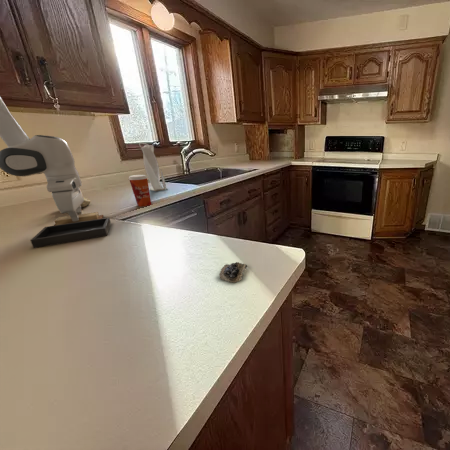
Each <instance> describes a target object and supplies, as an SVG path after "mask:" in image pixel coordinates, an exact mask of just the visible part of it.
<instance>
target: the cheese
mask: <svg viewBox="0 0 450 450" xmlns="http://www.w3.org/2000/svg"><path fill="white" fill-rule="evenodd" d="M83 198H84V202H83V203H82V204H81V208H85V207H87V206H89V205H90V204H91V200H90V199H89V198H87V197H83Z"/></svg>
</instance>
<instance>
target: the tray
mask: <svg viewBox="0 0 450 450" xmlns="http://www.w3.org/2000/svg"><path fill="white" fill-rule="evenodd" d="M54 225H55V224H54ZM54 225H49V226H44V227H43V228H42V229H41V230H40V231H39V232H38V233H37V234H36V235H34V236H33V237H32V238H31V239H30V243H31V246H32V247H33V249H38V248H42V247H43V248H44V247H49V246H54V245H61V244H67V243H72V242H78V241H83V240H88V239H95V238H100V237H105V236H108V234H109V231H110V228H111V226H112V222H111V218H110V217H103V218H102V219H96V220H89V221H82V222H75V223H68V224H62V225H55V226H54Z"/></svg>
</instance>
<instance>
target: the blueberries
mask: <svg viewBox="0 0 450 450" xmlns="http://www.w3.org/2000/svg"><path fill="white" fill-rule="evenodd" d="M247 268H248V265H247V264H245V263H242V262H239V261H236V262H232V263H230V264H228V263H226V264H224V266H222V268H221V269H220V271H219V274H218V275H219V279H220V280H222V281H225V282H228V283H232V284H234V283H238V282H240V281H242V279H243V276H244V274H243V273H245V271H246V270H247Z"/></svg>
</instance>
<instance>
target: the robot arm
mask: <svg viewBox="0 0 450 450" xmlns="http://www.w3.org/2000/svg"><path fill="white" fill-rule="evenodd" d="M0 138H1V140H2V141H3V142H4V144H5V145H6V146H7V147H5V148H3V149H1V150H0V169H1V171H3V172H4V173H6V174H8V175H11V176H15V177H22V178H23V177H24V178H25V177H30V176H35V175H41V174H43V175H44V176H45V179H46V182H47V184H46V189H47V192H48V193H51V197H52V200H53V201H54V203H55V206H56V207H57V210H58V211H59V212H60V213H61V214H67V215H68V216H70V217H71V219H72V221H74V222H75V221H78V220H79V217H78V215H79V214H83V212H82V207H81V204H82V203H83V202H84V198H85V197H84V195H83V192H82V190H81V187H83V183H82V179H81V176H80V173H79V171H78V170H77V168H76V165H75V159H74V156H73V153H72V150H71V148H70V146H69V144H68V142H67V141H66V140H64V138H61V137H59V136H53V135H46V134H45V135H43V134H35V135H33V136H32V137H31V138H30V137H29V135H27V133H26V131H24V129H23V128H22V126H21V125H20V124H19V123H18V121H17V120H16V118H15V117H14V115H13V114H12V113H11V112H10V110H9V109H8V107H7V105H6V104H5V102H4V100H3V98H2V97H1V96H0Z"/></svg>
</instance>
